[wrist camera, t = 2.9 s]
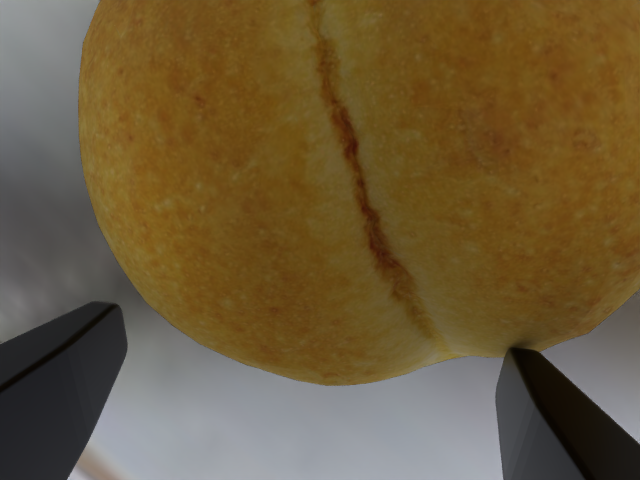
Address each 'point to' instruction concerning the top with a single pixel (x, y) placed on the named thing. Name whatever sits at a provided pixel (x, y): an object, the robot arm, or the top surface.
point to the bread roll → (367, 174)
